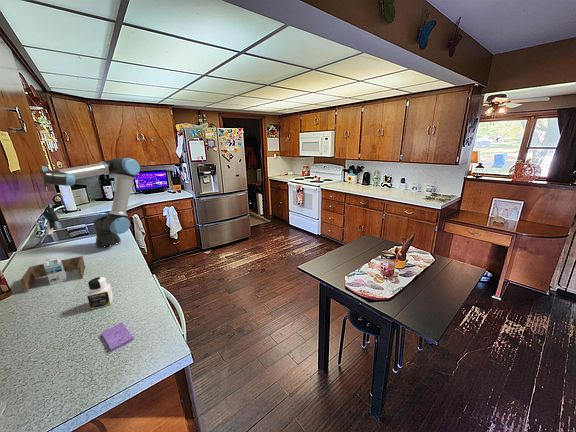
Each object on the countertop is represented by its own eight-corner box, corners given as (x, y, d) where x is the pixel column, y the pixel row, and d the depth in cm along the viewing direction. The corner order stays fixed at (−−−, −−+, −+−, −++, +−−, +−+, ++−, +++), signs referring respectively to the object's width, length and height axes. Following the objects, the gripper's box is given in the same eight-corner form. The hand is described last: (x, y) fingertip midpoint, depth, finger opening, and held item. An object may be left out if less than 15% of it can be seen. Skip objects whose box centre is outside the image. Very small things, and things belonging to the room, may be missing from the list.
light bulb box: (67, 280, 125) (62, 261, 122) (49, 285, 120) (43, 266, 117) (65, 273, 132) (60, 256, 129) (48, 278, 127) (42, 260, 124)
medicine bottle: (90, 309, 101) (83, 285, 98) (94, 301, 107) (88, 277, 104) (110, 305, 104) (104, 281, 101) (113, 296, 110) (108, 273, 107)
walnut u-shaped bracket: (85, 266, 140) (82, 255, 138) (82, 278, 126) (79, 266, 125) (33, 278, 127) (30, 266, 126) (25, 292, 114) (20, 279, 112)
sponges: (111, 353, 80) (110, 348, 79) (101, 335, 87) (100, 331, 87) (134, 340, 85) (133, 336, 84) (123, 325, 93) (122, 321, 92)
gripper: (3, 192, 121) (2, 232, 122) (56, 196, 124) (55, 235, 125) (18, 192, 128) (17, 231, 129) (68, 196, 131) (66, 233, 132)
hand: (36, 233), depth 127 cm, fingers open, 13 cm apart
